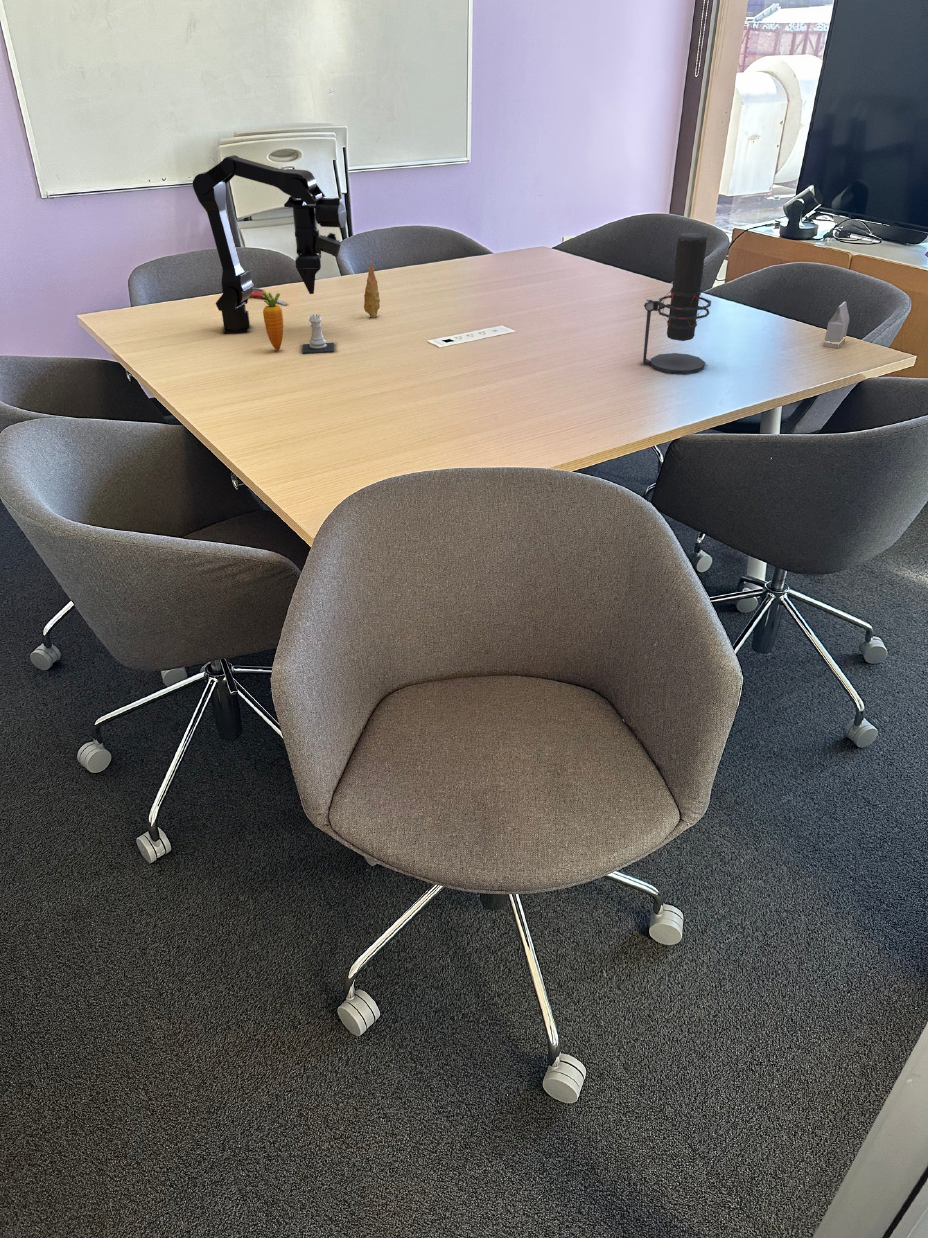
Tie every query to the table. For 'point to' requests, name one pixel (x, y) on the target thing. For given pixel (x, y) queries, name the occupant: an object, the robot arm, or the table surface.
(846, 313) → the grey pointed faceted piece
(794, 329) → the table surface
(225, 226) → the robot arm
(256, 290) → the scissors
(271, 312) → the carrot
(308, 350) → the coaster
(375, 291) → the stone tool
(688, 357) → the microphone
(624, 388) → the table surface
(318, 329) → the rook chess piece
